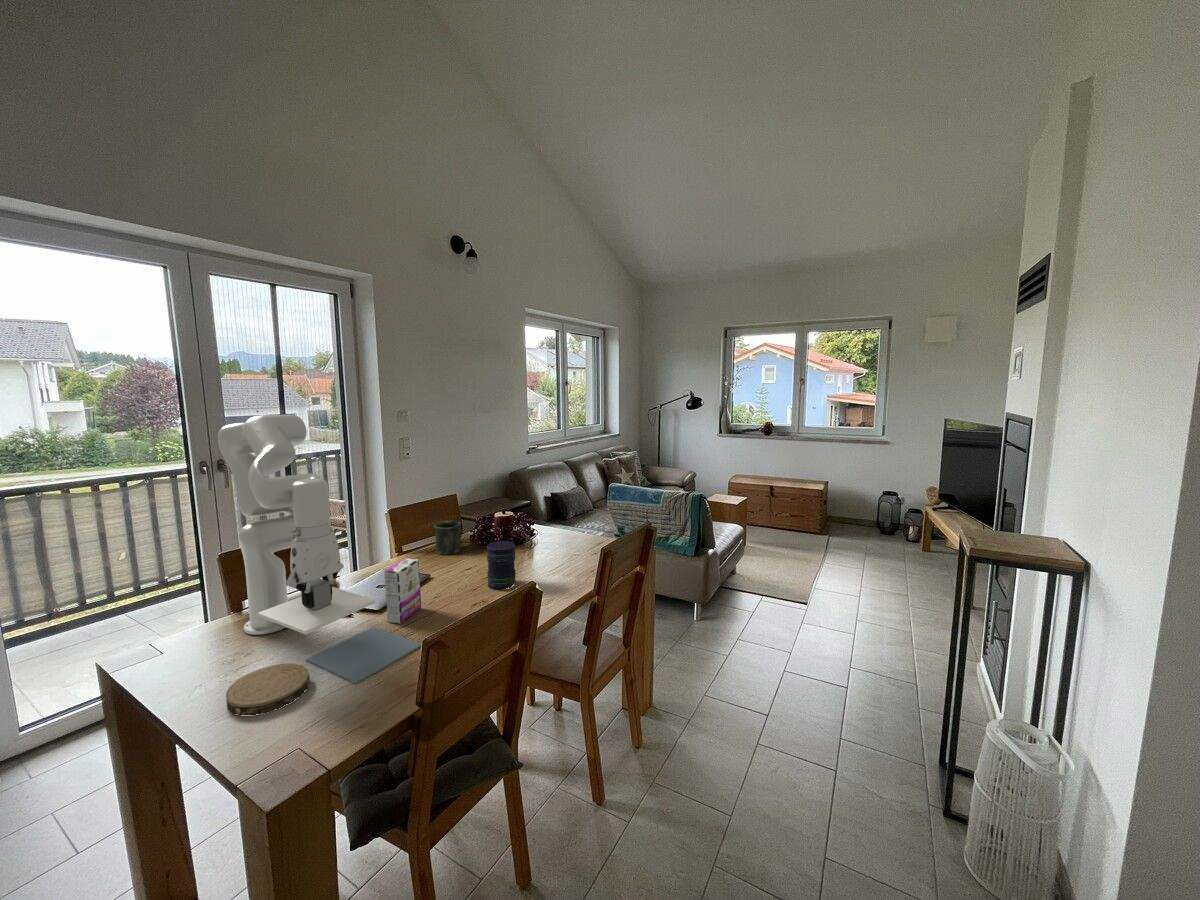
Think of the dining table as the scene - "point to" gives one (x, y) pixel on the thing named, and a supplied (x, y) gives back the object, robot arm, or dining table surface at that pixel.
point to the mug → (448, 537)
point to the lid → (316, 608)
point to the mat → (364, 654)
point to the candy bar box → (402, 590)
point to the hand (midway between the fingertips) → (317, 602)
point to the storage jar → (501, 564)
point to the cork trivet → (267, 689)
